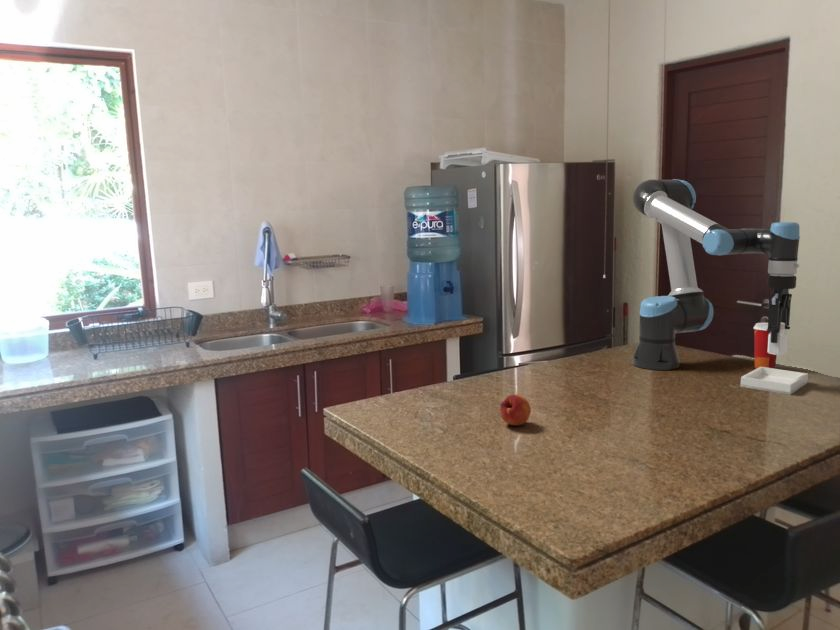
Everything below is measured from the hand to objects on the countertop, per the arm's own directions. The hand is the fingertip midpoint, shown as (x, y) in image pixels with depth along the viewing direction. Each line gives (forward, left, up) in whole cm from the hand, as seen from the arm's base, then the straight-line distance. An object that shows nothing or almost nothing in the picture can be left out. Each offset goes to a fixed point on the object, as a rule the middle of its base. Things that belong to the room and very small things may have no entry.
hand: (776, 351), depth 201 cm
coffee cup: (-9, +20, -11) cm, 24 cm away
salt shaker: (0, 0, -1) cm, 1 cm away
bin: (0, 0, -10) cm, 10 cm away
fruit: (-36, -83, -11) cm, 91 cm away
